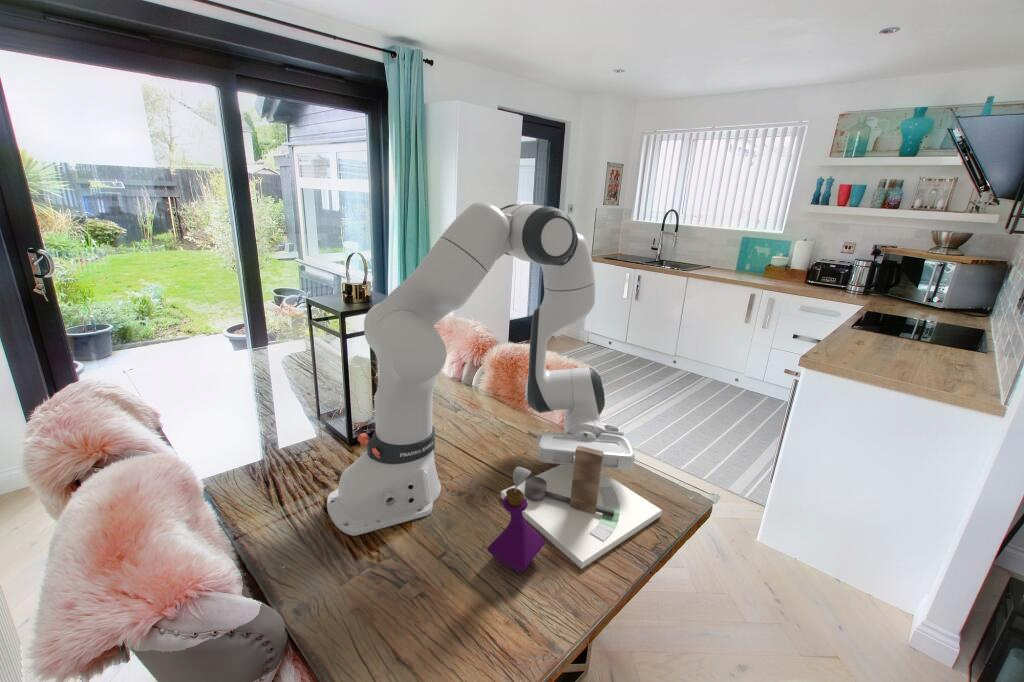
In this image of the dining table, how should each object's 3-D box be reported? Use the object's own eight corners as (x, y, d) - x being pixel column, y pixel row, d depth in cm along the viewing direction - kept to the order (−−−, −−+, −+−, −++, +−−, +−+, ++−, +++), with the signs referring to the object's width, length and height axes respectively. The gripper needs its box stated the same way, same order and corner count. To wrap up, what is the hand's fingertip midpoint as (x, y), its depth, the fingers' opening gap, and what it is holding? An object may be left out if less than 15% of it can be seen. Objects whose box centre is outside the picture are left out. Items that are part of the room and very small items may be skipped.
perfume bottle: (523, 585, 73) (530, 491, 67) (485, 564, 76) (489, 474, 71) (545, 556, 79) (552, 468, 73) (509, 538, 83) (513, 453, 77)
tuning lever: (521, 497, 91) (525, 441, 87) (528, 485, 95) (532, 430, 91) (611, 523, 85) (620, 464, 81) (615, 509, 89) (623, 452, 85)
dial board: (581, 568, 77) (582, 560, 76) (500, 497, 93) (501, 490, 93) (660, 516, 90) (662, 509, 90) (577, 462, 107) (578, 455, 107)
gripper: (539, 421, 102) (535, 454, 89) (630, 429, 101) (640, 464, 87) (537, 445, 104) (533, 481, 91) (626, 453, 103) (636, 491, 89)
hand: (586, 473), depth 89 cm, fingers closed
